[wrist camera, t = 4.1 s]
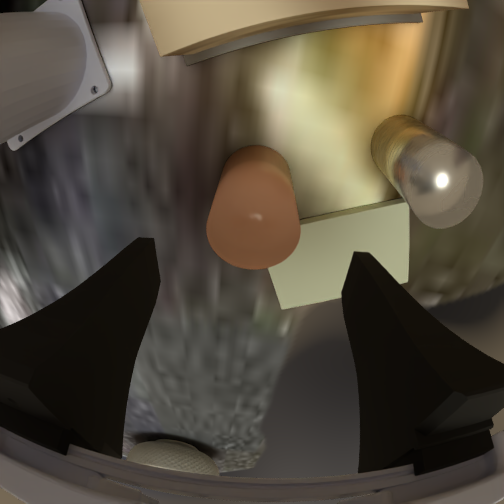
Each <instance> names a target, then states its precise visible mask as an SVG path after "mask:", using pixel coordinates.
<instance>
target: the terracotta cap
mask: <svg viewBox="0 0 504 504" xmlns="http://www.w3.org/2000/svg"><path fill="white" fill-rule="evenodd" d="M206 232H207V238H208V241H209V243H210V245H211V247H212V249H213V250H214V251H215V253H216V254H217V255H218V256H219V257H220V258H222V259H223V260H224V261H226V262H228V263H230V264H231V265H234V266H237V267H240V268H244V269H265V268H269V267H272V266H275V265H277V264H279V263H281V262H283V261H284V260H286V259H287V258H288V257H289V256H290V255H291V254H292V253H293V252H294V250H295V249H296V247H297V245H298V243H299V239H300V234H301V227H300V221H299V216H298V210H297V205H296V199H295V194H294V189H293V184H292V179H291V174H290V169H289V166H288V164H287V162H286V160H285V159H284V158H283V157H282V155H281V154H279V153H278V152H277V151H275V150H273V149H271V148H269V147H266V146H261V145H252V146H247V147H244V148H241V149H239V150H237V151H236V152H234V153H233V154H232V155H231V156H230V157H229V158H228V160H227V161H226V163H225V166H224V169H223V172H222V175H221V178H220V181H219V184H218V187H217V191H216V194H215V197H214V200H213V204H212V207H211V210H210V213H209V217H208V220H207V226H206Z"/></svg>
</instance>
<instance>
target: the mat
mask: <svg viewBox="0 0 504 504" xmlns="http://www.w3.org/2000/svg"><path fill="white" fill-rule="evenodd" d="M299 221H300V227H301V234H300V239H299V243H298V245H297V247H296V249H295V250H294V252H293V253H292V254H291V255H290V256H289V257H288V258H287V259H286V260H284V261H283V262H281V263H279V264H277V265H275V266H272V267H269V268H268V270H269V273H270V276H271V279H272V282H273V285H274V287H275V290H276V293H277V296H278V299H279V302H280V305H281V308H282V309H287V308H293V307H298V306H303V305H308V304H313V303H318V302H323V301H327V300H332V299H337V298H341V291H342V288H343V285H344V282H345V279H346V275H347V272H348V269H349V265H350V262H351V259H352V255H353V252H354V251H359V252H369V253H370V254H372V255H373V256H374V257H375V258H376V259H377V260H378V261H379V262H380V264H381V265H382V266H383V267H384V268H385V269H386V270H387V271H388V272H389V273H390V274H391V275H392V276H393V277H394V279H395V280H396V281H397V282H398V283H399V284H401V283H405V282H408V268H409V205H408V204H407V202H406V201H405V200H404V199H403V198H400V199H395V200H390V201H385V202H381V203H376V204H371V205H366V206H362V207H357V208H352V209H348V210H343V211H339V212H334V213H330V214H325V215H320V216H316V217H311V218H307V219H303V220H299Z"/></svg>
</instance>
